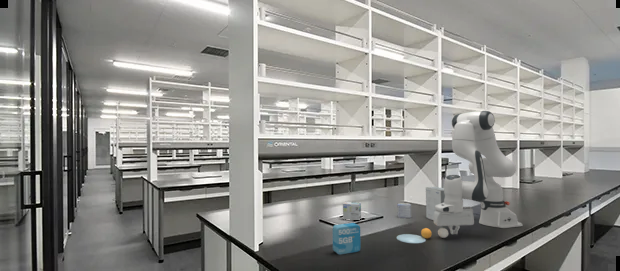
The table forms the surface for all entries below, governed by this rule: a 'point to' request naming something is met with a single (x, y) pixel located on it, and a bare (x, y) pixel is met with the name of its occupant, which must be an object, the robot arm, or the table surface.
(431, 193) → the hard drive box
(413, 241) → the blue mark
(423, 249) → the table surface
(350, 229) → the data package
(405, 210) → the medicine box
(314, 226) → the table surface
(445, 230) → the white ball
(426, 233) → the orange ball
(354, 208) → the light bulb box
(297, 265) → the table surface
